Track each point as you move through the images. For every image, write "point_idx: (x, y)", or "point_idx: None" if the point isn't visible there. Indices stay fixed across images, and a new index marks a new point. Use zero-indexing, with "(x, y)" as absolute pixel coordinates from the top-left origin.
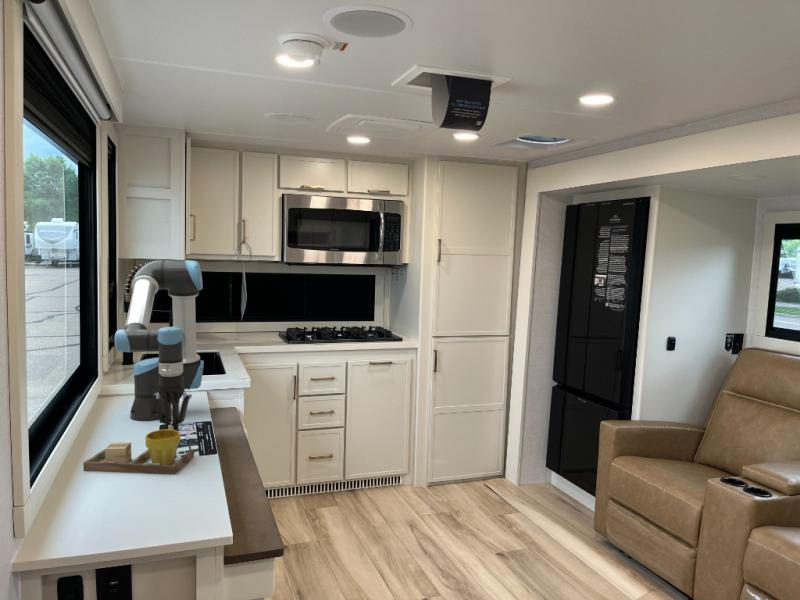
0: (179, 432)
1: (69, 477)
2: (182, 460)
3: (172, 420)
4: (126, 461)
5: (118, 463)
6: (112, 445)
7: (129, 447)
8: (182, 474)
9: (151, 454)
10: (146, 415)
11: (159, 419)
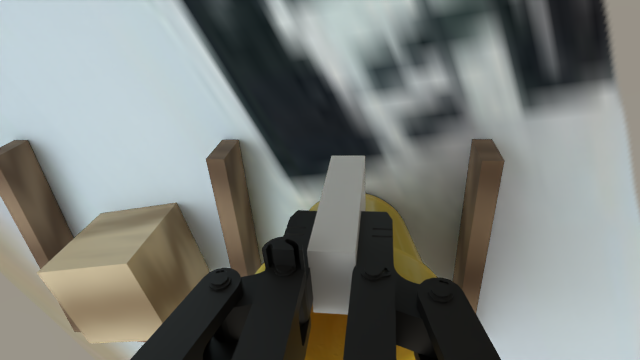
0: None
1: (106, 349)
2: (477, 296)
3: (302, 250)
4: (196, 271)
5: None
6: (81, 309)
7: (152, 273)
8: (494, 330)
9: (314, 321)
10: None
11: (209, 350)
